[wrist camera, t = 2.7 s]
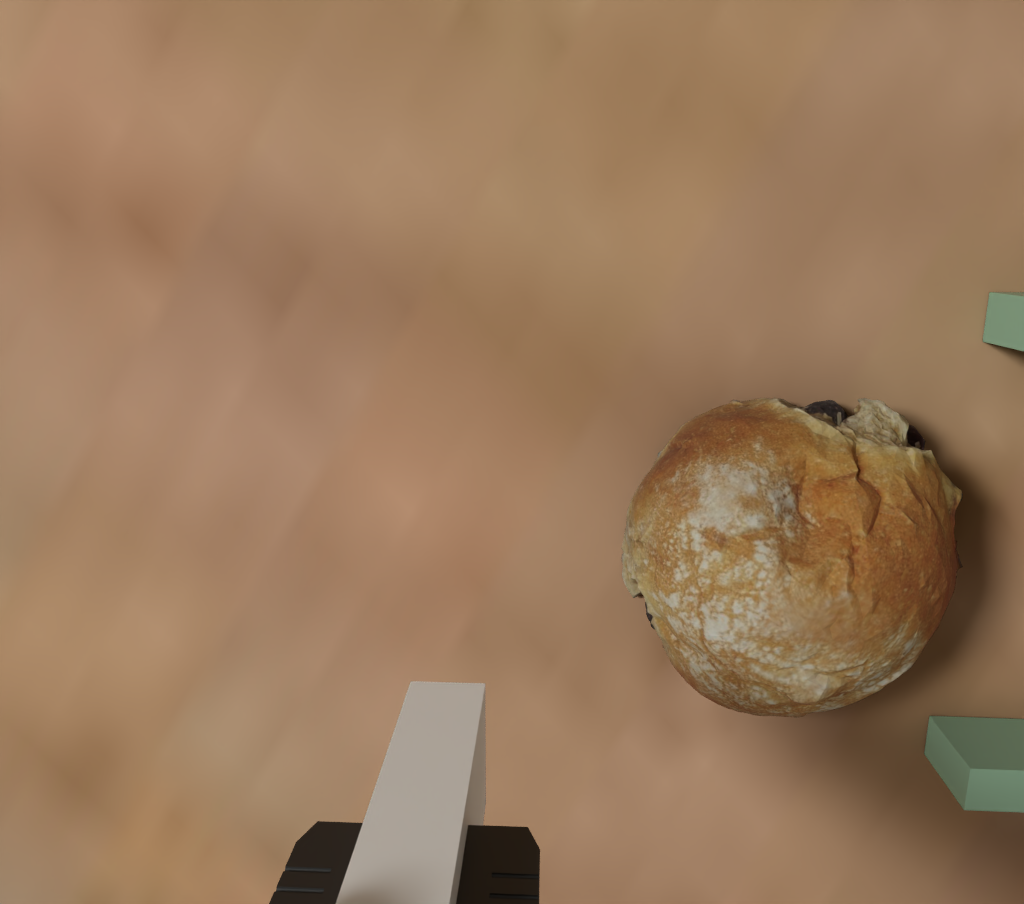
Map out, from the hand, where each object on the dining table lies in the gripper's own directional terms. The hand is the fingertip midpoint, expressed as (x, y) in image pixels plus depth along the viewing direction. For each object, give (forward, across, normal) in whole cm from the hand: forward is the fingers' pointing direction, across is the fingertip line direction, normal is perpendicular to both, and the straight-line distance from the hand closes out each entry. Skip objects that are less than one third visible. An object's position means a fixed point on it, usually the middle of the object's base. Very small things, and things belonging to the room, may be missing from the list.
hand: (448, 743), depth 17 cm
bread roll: (+12, +9, +1) cm, 15 cm away
